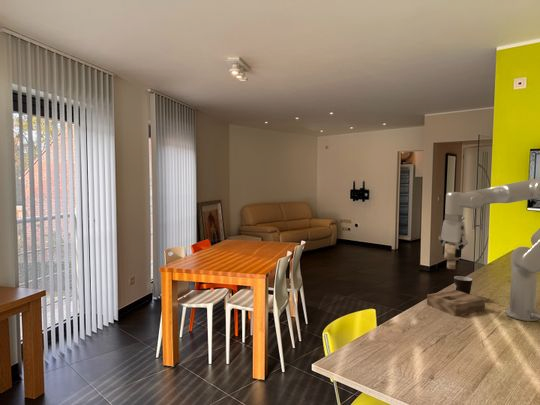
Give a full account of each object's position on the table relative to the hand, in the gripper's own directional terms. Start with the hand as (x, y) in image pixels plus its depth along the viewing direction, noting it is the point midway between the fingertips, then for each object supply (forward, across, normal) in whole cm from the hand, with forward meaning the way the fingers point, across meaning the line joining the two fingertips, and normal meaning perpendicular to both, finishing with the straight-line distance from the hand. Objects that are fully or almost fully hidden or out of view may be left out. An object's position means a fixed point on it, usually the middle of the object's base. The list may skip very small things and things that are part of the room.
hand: (451, 255), depth 174 cm
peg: (+6, 0, 0) cm, 6 cm away
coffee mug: (+26, +10, -22) cm, 35 cm away
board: (+25, 0, -4) cm, 26 cm away
